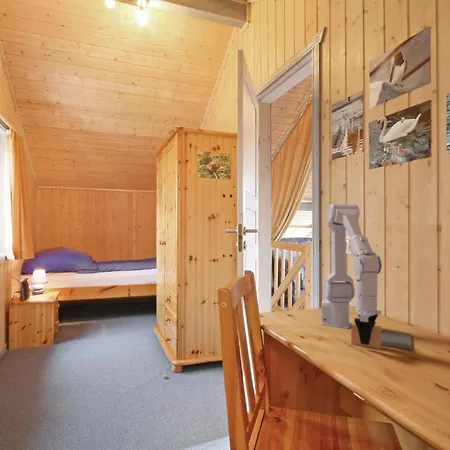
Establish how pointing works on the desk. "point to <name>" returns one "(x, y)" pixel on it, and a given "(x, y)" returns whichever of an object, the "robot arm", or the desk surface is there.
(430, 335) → the desk surface
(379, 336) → the slab
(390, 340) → the mat
